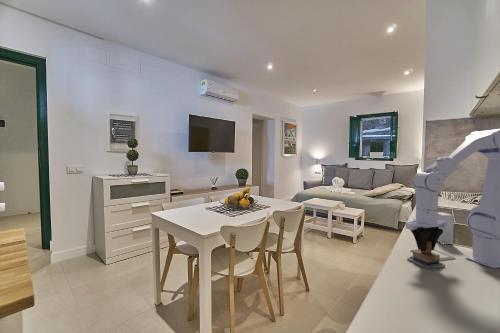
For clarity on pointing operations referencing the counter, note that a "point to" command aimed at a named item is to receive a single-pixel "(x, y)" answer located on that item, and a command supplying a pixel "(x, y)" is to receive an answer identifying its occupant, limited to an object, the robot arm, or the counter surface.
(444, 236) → the skincare box
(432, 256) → the stamp
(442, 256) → the pale green flat square
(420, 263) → the ink pad
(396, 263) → the counter surface
